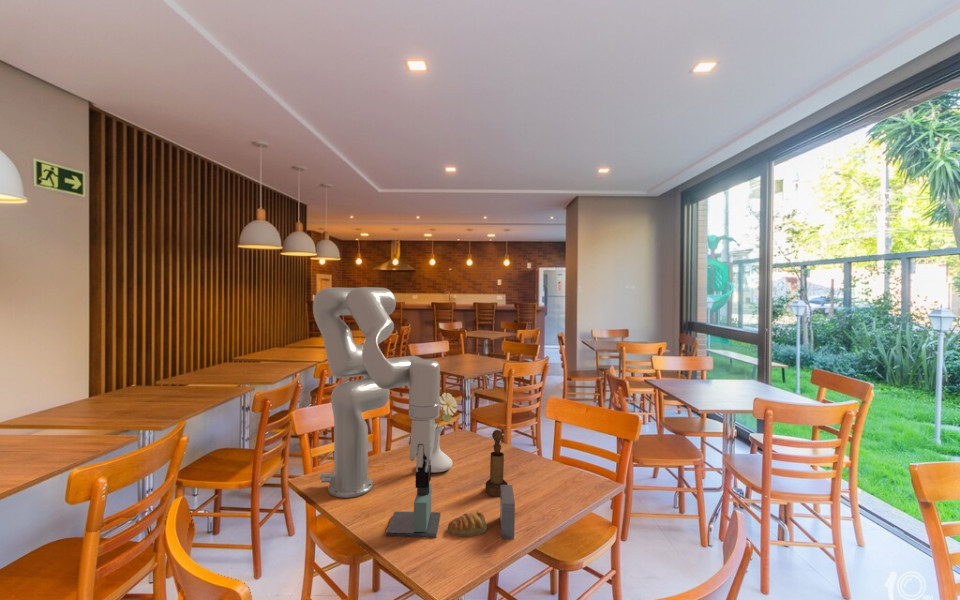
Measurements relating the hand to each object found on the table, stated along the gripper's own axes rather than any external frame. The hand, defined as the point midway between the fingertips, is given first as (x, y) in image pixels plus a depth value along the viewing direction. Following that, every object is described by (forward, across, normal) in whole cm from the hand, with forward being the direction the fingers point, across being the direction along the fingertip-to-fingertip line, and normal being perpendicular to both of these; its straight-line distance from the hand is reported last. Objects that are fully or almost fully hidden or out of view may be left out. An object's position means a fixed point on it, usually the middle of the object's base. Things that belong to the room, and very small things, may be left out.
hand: (423, 483), depth 109 cm
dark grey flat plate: (+11, 0, -2) cm, 11 cm away
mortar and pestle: (+11, -20, +19) cm, 30 cm away
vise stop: (+11, 0, +21) cm, 23 cm away
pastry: (+11, +1, +12) cm, 16 cm away
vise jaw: (+9, 0, 0) cm, 9 cm away
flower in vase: (+11, -36, 0) cm, 38 cm away
